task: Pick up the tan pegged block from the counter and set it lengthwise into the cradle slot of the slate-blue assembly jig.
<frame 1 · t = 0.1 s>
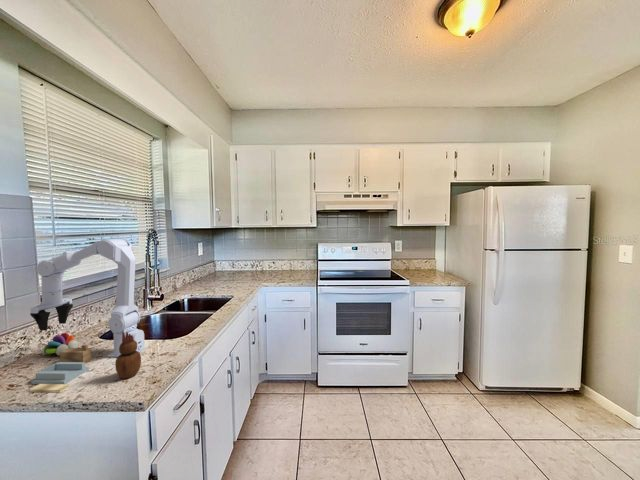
hand: (53, 326, 108), 10 cm above the countertop, fingers open, 7 cm apart
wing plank: (49, 390, 83), on the countertop
wooden figurine: (128, 376, 91), on the countertop
tan pegged block: (76, 362, 100), on the countertop
rainbow segmented toy: (60, 353, 108), on the countertop
jig: (61, 376, 90), on the countertop
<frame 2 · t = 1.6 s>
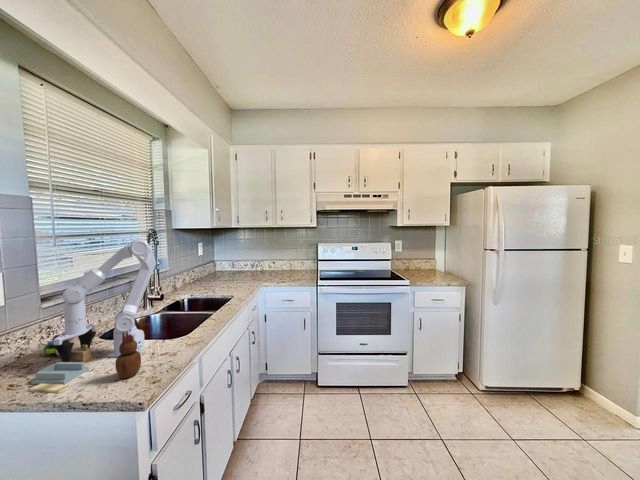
hand: (76, 357, 100), 2 cm above the countertop, fingers open, 7 cm apart
nothing on the countertop moved.
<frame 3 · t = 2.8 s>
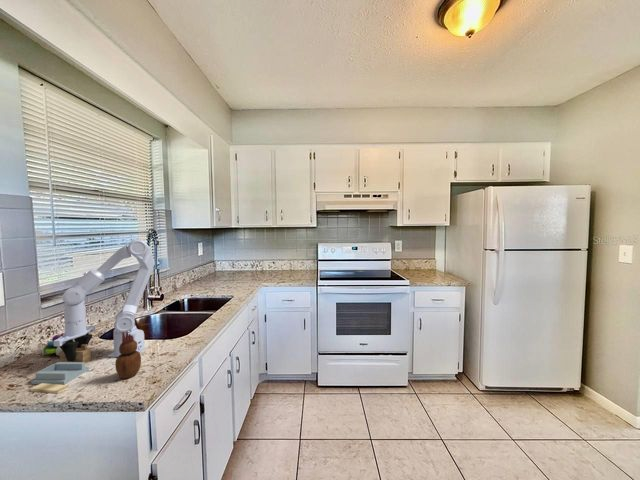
hand: (76, 358, 100), 1 cm above the countertop, fingers closed on tan pegged block, 3 cm apart
tan pegged block: (75, 362, 100), on the countertop, touching gripper
everything else where it was.
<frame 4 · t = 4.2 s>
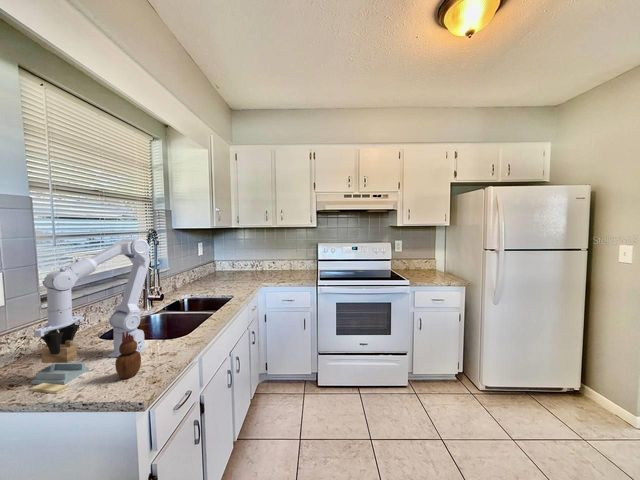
hand: (60, 351, 90), 8 cm above the countertop, fingers closed on tan pegged block, 3 cm apart
tan pegged block: (59, 360, 90), point 5 cm above the countertop, touching gripper
everything else where it was.
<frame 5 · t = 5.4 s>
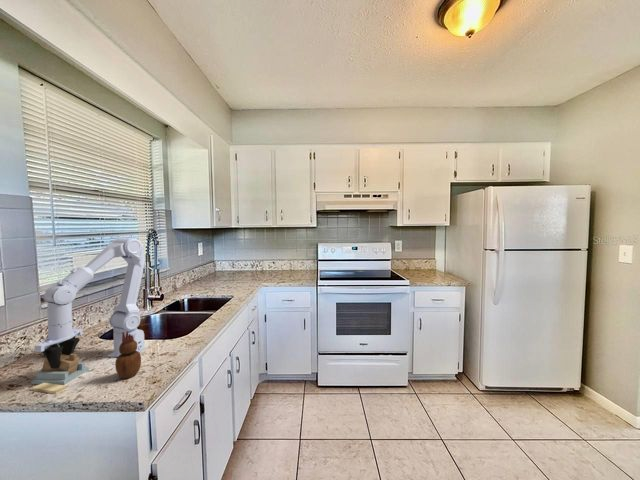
hand: (61, 364, 90), 4 cm above the countertop, fingers closed on tan pegged block, 3 cm apart
tan pegged block: (59, 370, 90), point 2 cm above the countertop, tilted 15°, touching gripper, jig
everything else where it was.
when the fingers open (4 cm above the countertop, at t = 5.8 s): tan pegged block stays where it is, resting on jig.
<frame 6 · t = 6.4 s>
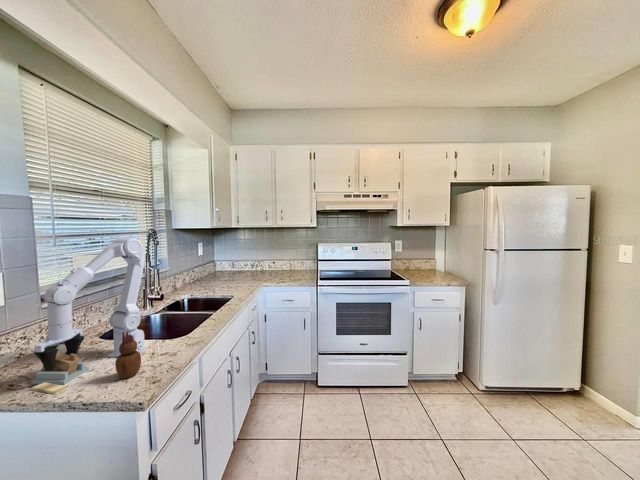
hand: (61, 364, 90), 4 cm above the countertop, fingers open, 7 cm apart
tan pegged block: (59, 370, 90), point 2 cm above the countertop, tilted 15°, touching jig
everything else where it was.
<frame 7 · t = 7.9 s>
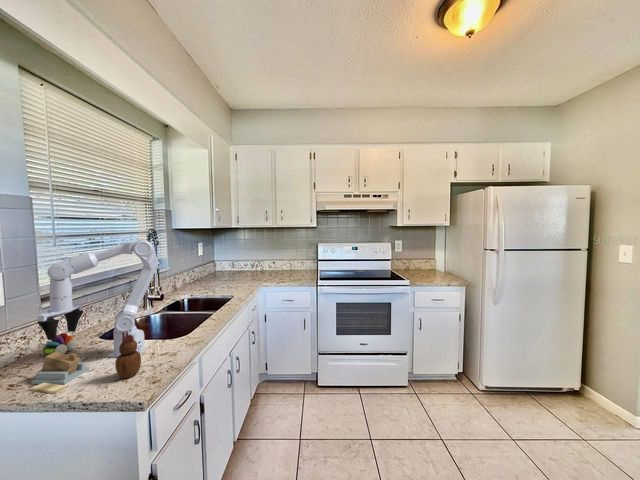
hand: (62, 335, 98), 10 cm above the countertop, fingers open, 7 cm apart
nothing on the countertop moved.
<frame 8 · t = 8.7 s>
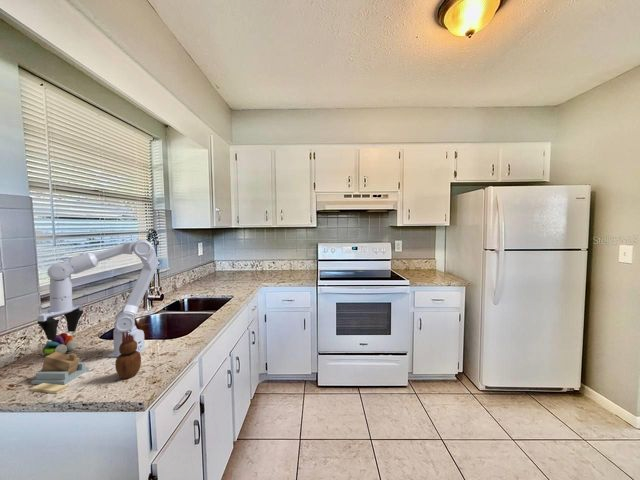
hand: (62, 335, 98), 10 cm above the countertop, fingers open, 7 cm apart
nothing on the countertop moved.
at the end: tan pegged block 0.6 cm off-centre on the jig, point 2.0 cm above the jig's base; tan pegged block tilted 15°; the gripper is holding nothing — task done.
